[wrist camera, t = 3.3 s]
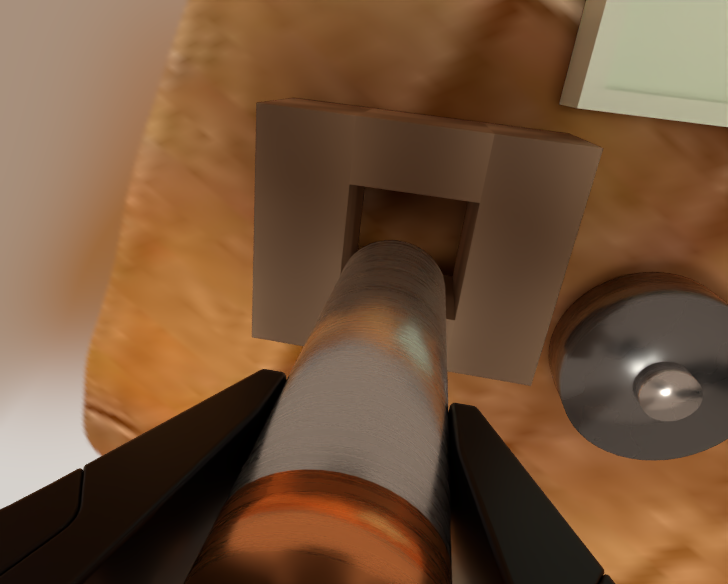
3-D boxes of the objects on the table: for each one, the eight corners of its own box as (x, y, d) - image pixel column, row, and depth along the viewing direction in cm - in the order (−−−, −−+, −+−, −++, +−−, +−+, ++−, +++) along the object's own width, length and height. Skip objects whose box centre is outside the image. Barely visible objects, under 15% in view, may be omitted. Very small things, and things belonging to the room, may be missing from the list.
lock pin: (454, 249, 12) (483, 592, 4) (435, 345, 13) (427, 763, 5) (344, 232, 12) (163, 525, 4) (335, 328, 14) (177, 702, 5)
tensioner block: (569, 133, 17) (603, 148, 14) (515, 331, 21) (530, 385, 17) (293, 97, 18) (256, 102, 15) (284, 293, 21) (252, 336, 18)
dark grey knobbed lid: (766, 288, 18) (827, 327, 15) (693, 434, 21) (733, 491, 18) (575, 259, 19) (600, 291, 16) (530, 405, 22) (543, 455, 19)
